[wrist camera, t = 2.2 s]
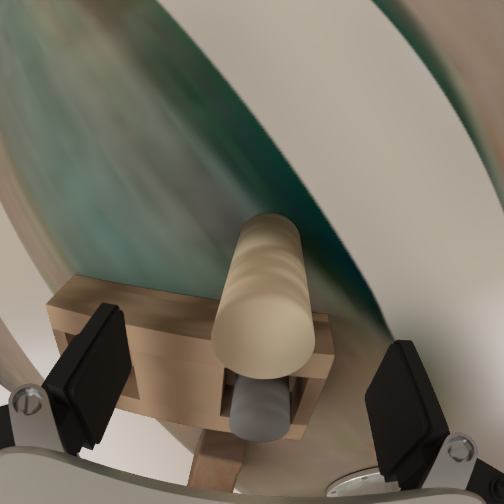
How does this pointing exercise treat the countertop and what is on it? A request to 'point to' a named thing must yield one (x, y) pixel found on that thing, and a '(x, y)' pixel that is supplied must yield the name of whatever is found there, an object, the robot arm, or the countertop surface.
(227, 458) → the wooden block
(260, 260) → the birch dowel
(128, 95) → the countertop surface
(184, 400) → the walnut socket block
